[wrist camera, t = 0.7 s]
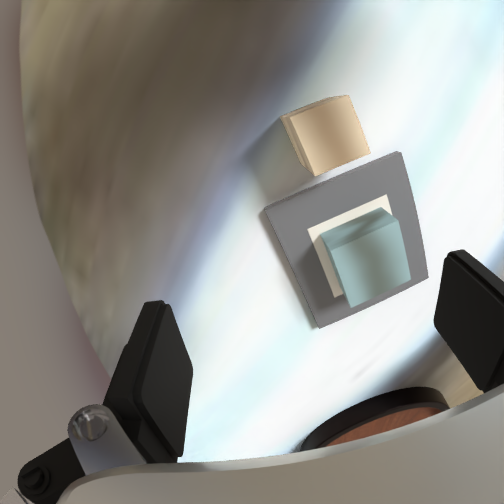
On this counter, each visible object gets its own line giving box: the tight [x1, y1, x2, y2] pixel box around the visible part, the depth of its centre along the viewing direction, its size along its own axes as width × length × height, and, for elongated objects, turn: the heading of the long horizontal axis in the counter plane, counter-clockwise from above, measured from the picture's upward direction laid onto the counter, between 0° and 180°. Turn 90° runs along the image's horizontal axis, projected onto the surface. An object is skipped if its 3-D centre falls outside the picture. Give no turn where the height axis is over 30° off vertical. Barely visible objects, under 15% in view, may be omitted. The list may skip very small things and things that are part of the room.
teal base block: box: [320, 207, 411, 308], centre depth 30 cm, size 7×7×4 cm
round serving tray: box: [300, 387, 450, 452], centre depth 50 cm, size 31×4×31 cm
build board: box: [264, 151, 429, 329], centre depth 32 cm, size 15×16×1 cm
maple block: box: [280, 95, 370, 176], centre depth 25 cm, size 5×5×6 cm
